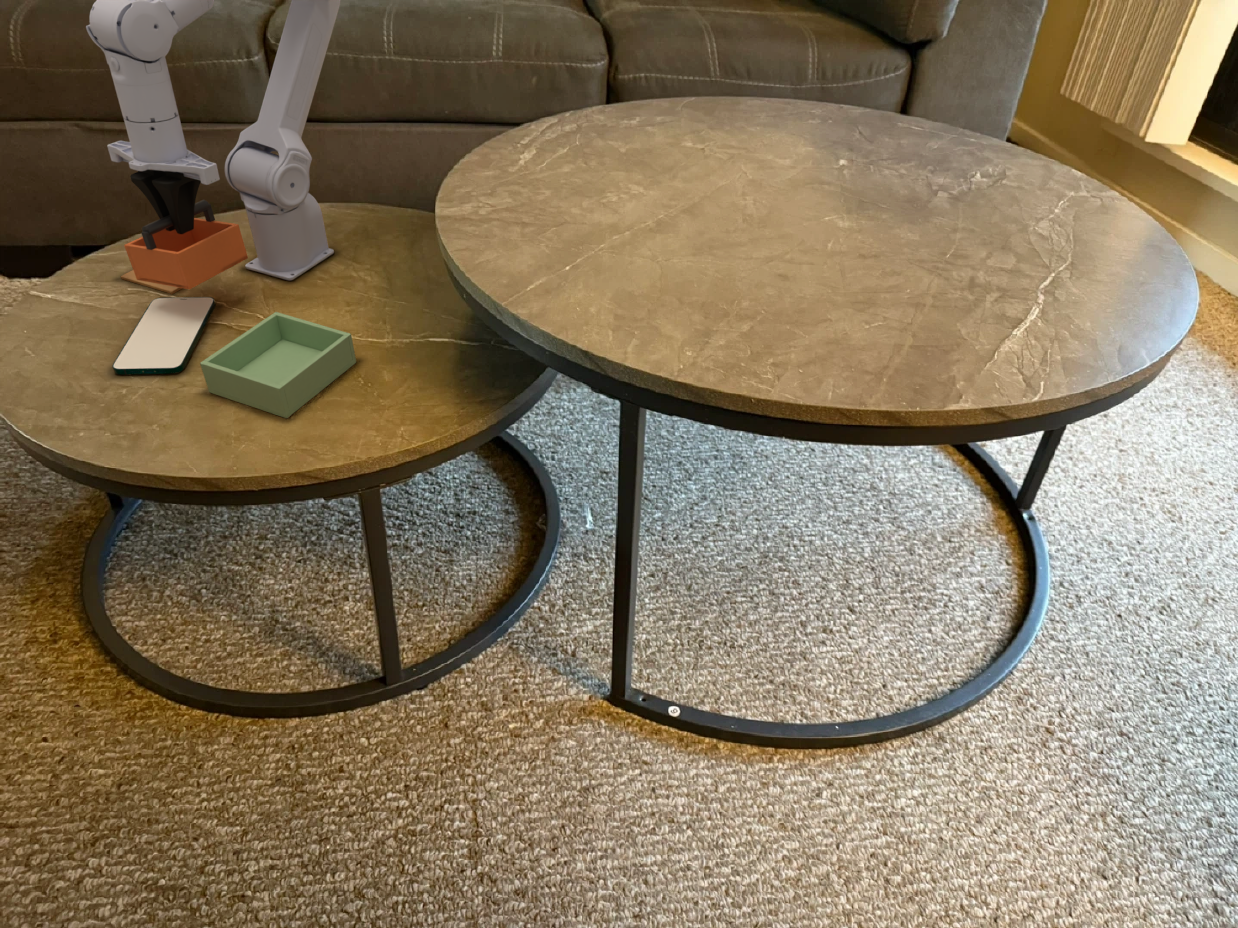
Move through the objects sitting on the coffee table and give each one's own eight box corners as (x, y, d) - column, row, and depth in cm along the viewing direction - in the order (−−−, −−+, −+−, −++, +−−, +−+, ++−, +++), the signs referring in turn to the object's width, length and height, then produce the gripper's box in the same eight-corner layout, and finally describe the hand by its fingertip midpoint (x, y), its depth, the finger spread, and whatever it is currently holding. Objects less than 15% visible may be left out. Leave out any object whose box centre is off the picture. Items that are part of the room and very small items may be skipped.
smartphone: (182, 374, 105) (218, 303, 117) (180, 368, 104) (216, 296, 117) (111, 376, 105) (154, 303, 117) (108, 369, 104) (152, 297, 116)
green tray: (282, 339, 111) (275, 311, 109) (356, 362, 108) (351, 333, 105) (209, 392, 103) (199, 362, 100) (287, 418, 99) (279, 388, 97)
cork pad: (182, 245, 129) (182, 243, 129) (232, 259, 127) (231, 256, 126) (121, 278, 122) (120, 276, 121) (172, 294, 119) (171, 291, 119)
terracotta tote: (198, 249, 119) (180, 195, 114) (249, 257, 116) (233, 202, 111) (135, 280, 111) (114, 223, 107) (188, 290, 108) (169, 231, 104)
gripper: (73, 112, 101) (108, 228, 110) (173, 136, 97) (202, 254, 105) (123, 97, 107) (153, 208, 115) (221, 119, 102) (245, 233, 111)
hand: (180, 229), depth 111 cm, fingers closed on terracotta tote
